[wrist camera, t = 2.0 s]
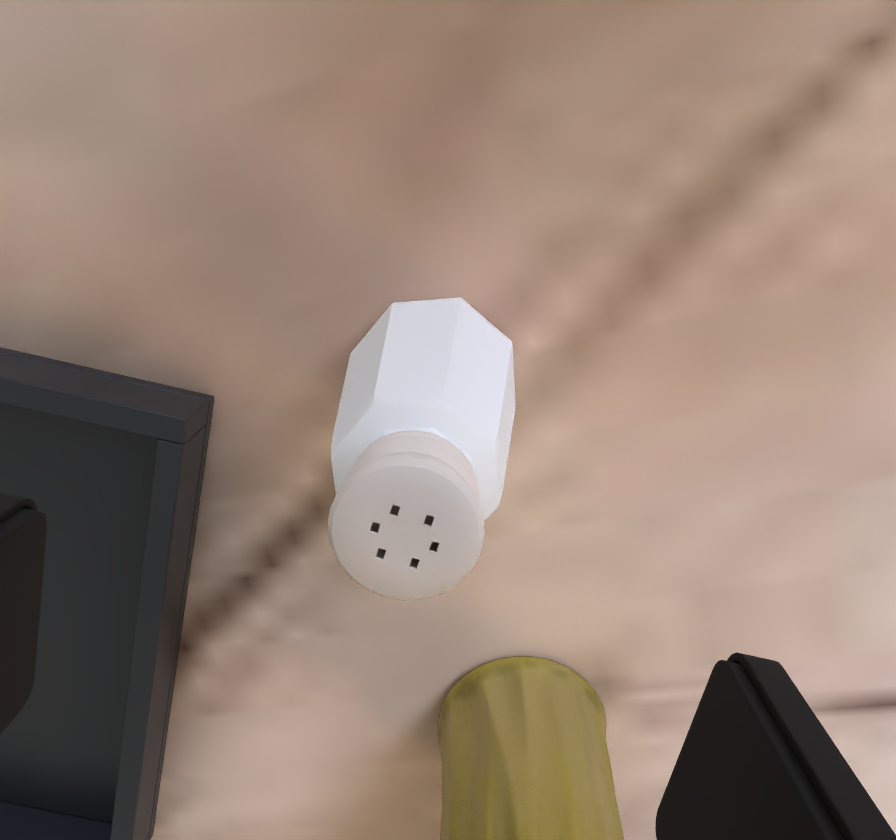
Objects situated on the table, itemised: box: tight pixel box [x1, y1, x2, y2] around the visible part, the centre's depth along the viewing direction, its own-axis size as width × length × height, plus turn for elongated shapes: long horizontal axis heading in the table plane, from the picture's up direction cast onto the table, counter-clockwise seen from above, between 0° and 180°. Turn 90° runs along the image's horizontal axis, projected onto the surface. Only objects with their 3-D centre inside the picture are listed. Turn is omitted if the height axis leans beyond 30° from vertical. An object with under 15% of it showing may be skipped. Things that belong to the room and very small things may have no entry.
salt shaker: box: [327, 297, 516, 600], centre depth 18 cm, size 5×5×11 cm
